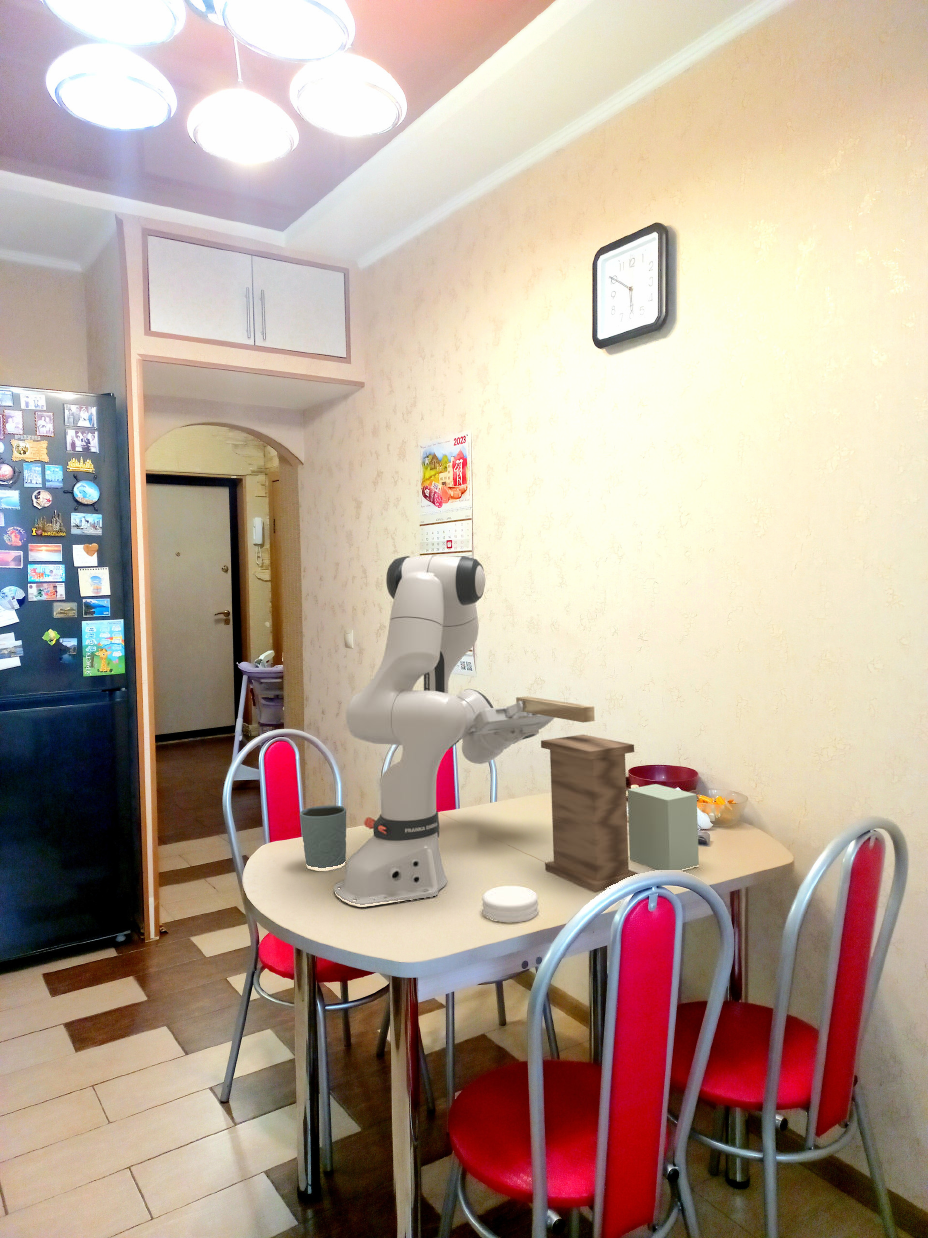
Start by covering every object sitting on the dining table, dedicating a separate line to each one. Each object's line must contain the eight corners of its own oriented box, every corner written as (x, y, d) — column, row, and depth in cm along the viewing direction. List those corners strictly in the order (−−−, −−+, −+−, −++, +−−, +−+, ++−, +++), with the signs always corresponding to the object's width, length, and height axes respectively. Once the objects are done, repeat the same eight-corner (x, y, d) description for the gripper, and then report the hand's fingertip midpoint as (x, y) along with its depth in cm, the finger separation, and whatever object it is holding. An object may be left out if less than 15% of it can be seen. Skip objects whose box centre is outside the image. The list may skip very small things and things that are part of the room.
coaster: (549, 912, 149) (548, 893, 149) (512, 929, 142) (511, 909, 142) (508, 899, 156) (508, 881, 156) (471, 915, 149) (470, 895, 149)
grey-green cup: (327, 875, 173) (325, 818, 173) (291, 868, 178) (289, 813, 178) (358, 861, 182) (356, 807, 181) (323, 855, 187) (320, 802, 187)
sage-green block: (670, 874, 166) (667, 800, 166) (629, 859, 176) (627, 789, 176) (698, 866, 170) (696, 794, 170) (657, 852, 180) (655, 784, 180)
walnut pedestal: (594, 892, 158) (589, 751, 157) (545, 870, 171) (540, 740, 171) (638, 880, 163) (634, 744, 162) (587, 860, 177) (583, 734, 176)
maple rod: (582, 722, 167) (582, 707, 167) (516, 710, 188) (516, 697, 188) (594, 721, 169) (594, 706, 169) (527, 709, 189) (527, 696, 189)
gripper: (461, 719, 192) (487, 694, 181) (533, 711, 202) (562, 686, 192) (469, 745, 189) (496, 720, 179) (542, 734, 200) (571, 711, 189)
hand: (531, 703), depth 185 cm, fingers closed on maple rod, 3 cm apart
